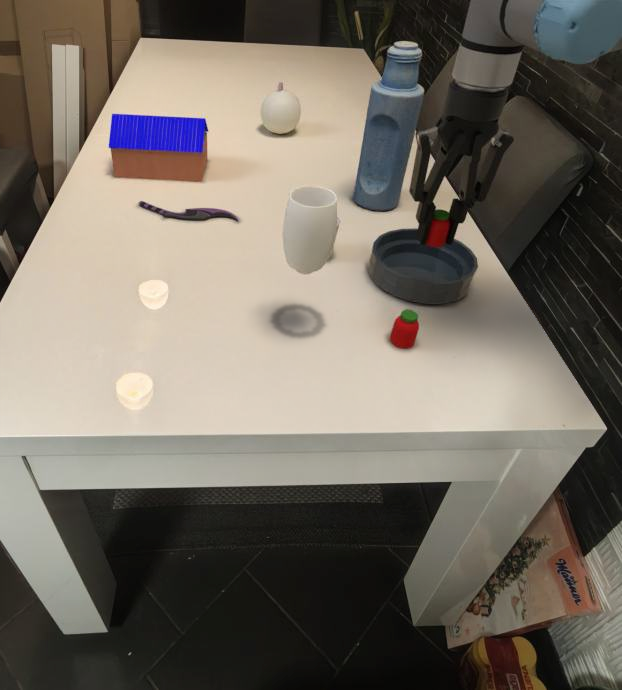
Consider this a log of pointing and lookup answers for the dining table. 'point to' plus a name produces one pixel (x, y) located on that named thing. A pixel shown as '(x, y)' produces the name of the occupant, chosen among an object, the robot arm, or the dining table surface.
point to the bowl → (421, 268)
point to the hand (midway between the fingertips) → (433, 239)
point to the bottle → (389, 129)
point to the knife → (191, 212)
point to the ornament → (280, 111)
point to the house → (158, 147)
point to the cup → (309, 228)
